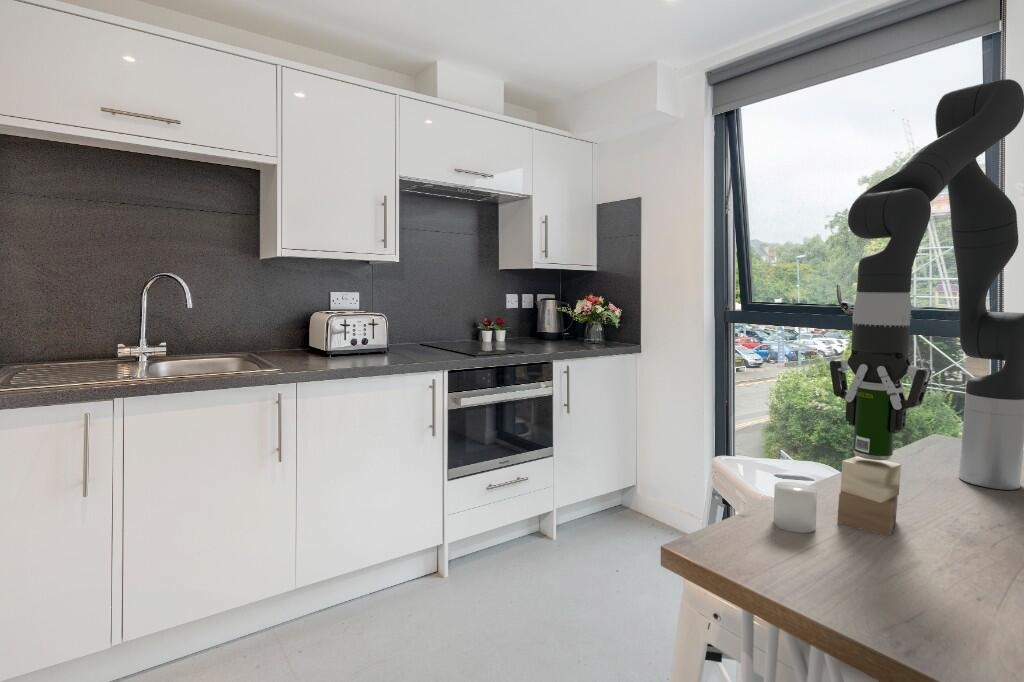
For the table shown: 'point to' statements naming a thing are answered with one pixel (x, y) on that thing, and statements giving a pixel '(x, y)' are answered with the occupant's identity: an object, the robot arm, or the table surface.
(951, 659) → the table surface
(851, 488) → the top block
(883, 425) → the guarana soda can
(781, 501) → the white rounded cylinder
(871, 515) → the base block
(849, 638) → the table surface
